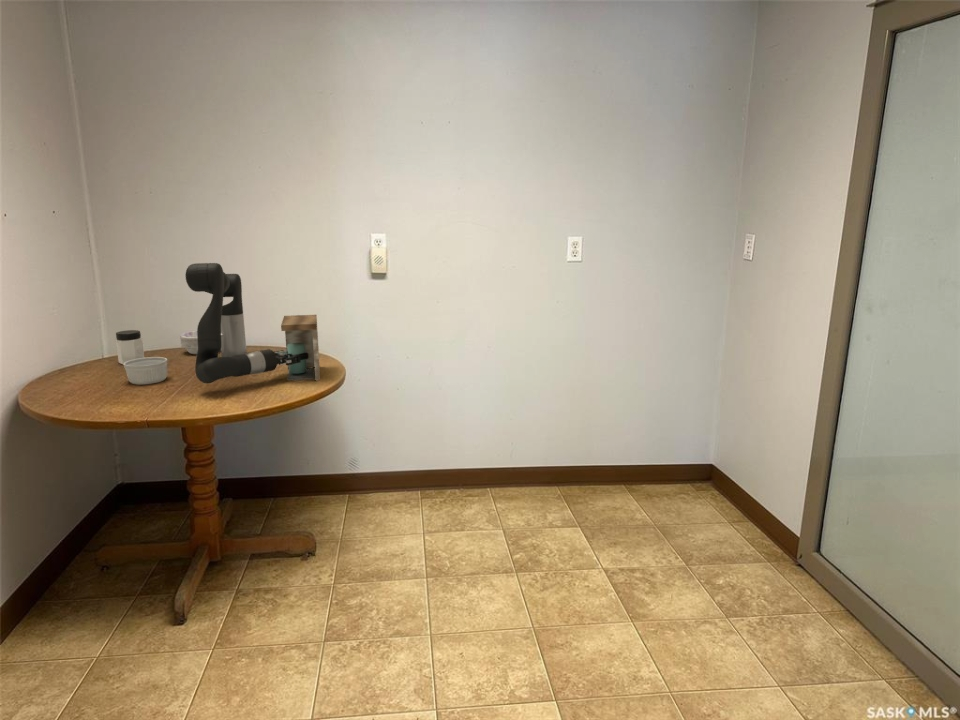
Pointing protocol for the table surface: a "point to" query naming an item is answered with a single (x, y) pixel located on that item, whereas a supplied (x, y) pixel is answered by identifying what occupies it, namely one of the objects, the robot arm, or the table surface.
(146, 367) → the ramekin
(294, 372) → the teal cylinder
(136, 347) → the jar
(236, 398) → the table surface
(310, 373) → the mat
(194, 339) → the paper bowls
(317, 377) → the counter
